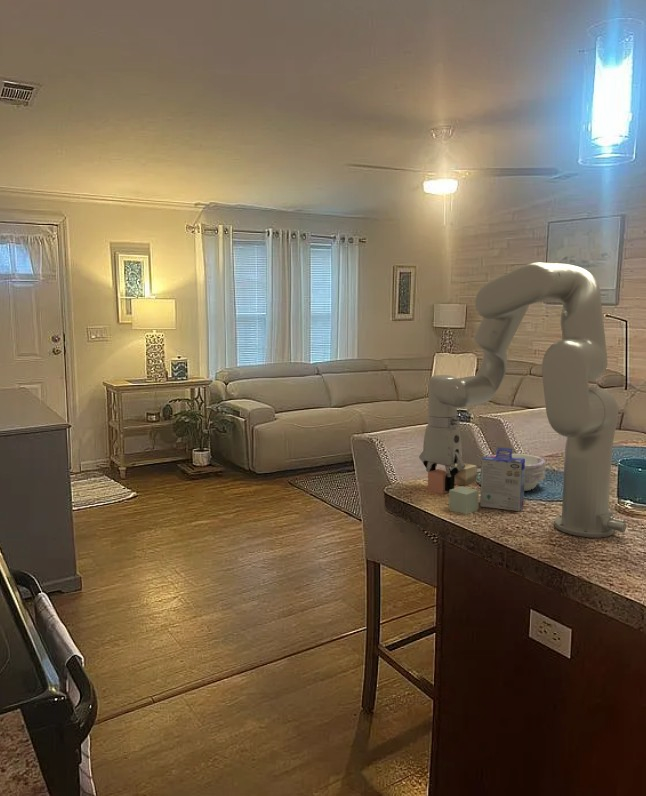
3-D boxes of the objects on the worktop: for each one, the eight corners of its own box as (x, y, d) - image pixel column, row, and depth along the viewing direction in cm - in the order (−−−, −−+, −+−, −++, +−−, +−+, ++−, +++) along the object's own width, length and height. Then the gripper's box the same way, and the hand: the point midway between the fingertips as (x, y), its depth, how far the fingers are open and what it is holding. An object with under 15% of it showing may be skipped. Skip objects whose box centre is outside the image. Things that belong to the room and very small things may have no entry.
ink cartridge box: (524, 505, 157) (526, 448, 155) (521, 512, 152) (523, 453, 150) (484, 500, 161) (485, 445, 159) (479, 507, 156) (481, 450, 154)
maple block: (476, 483, 177) (476, 465, 176) (465, 486, 174) (465, 469, 173) (461, 479, 181) (462, 462, 180) (450, 482, 178) (451, 465, 177)
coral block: (454, 490, 171) (454, 472, 170) (442, 493, 167) (442, 475, 167) (439, 486, 174) (439, 468, 174) (427, 489, 171) (428, 471, 170)
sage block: (478, 510, 154) (478, 490, 154) (465, 514, 151) (466, 494, 150) (461, 505, 158) (461, 486, 157) (448, 509, 155) (449, 490, 154)
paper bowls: (492, 476, 183) (493, 450, 182) (547, 482, 176) (548, 455, 175) (481, 491, 169) (482, 462, 168) (540, 498, 163) (542, 468, 162)
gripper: (477, 424, 164) (475, 492, 167) (426, 416, 177) (425, 479, 180) (459, 428, 159) (458, 498, 162) (408, 419, 172) (407, 484, 175)
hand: (441, 487), depth 171 cm, fingers closed on coral block, 5 cm apart
